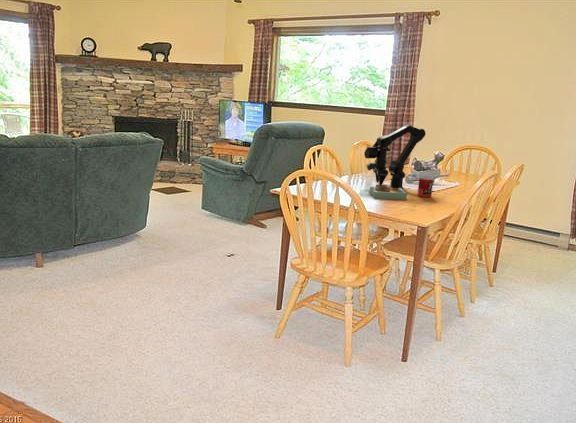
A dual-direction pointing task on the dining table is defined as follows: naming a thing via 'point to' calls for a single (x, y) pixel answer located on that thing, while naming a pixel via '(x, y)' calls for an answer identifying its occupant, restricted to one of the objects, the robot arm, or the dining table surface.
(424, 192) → the canned food
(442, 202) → the dining table surface
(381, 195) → the box
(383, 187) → the tan wooden block
